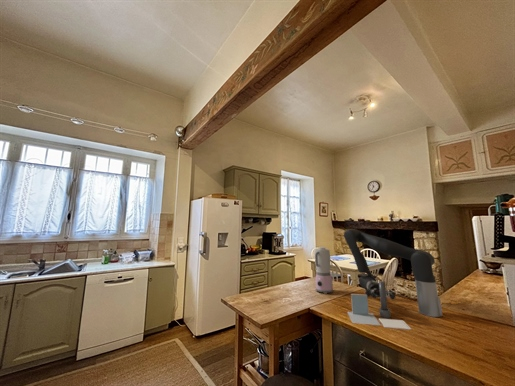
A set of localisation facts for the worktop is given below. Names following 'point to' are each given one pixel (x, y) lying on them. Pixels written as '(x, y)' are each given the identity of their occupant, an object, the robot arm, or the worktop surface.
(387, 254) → the robot arm
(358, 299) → the tile
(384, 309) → the grey pestle
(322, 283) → the blender
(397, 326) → the board
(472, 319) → the worktop surface
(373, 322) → the mat
